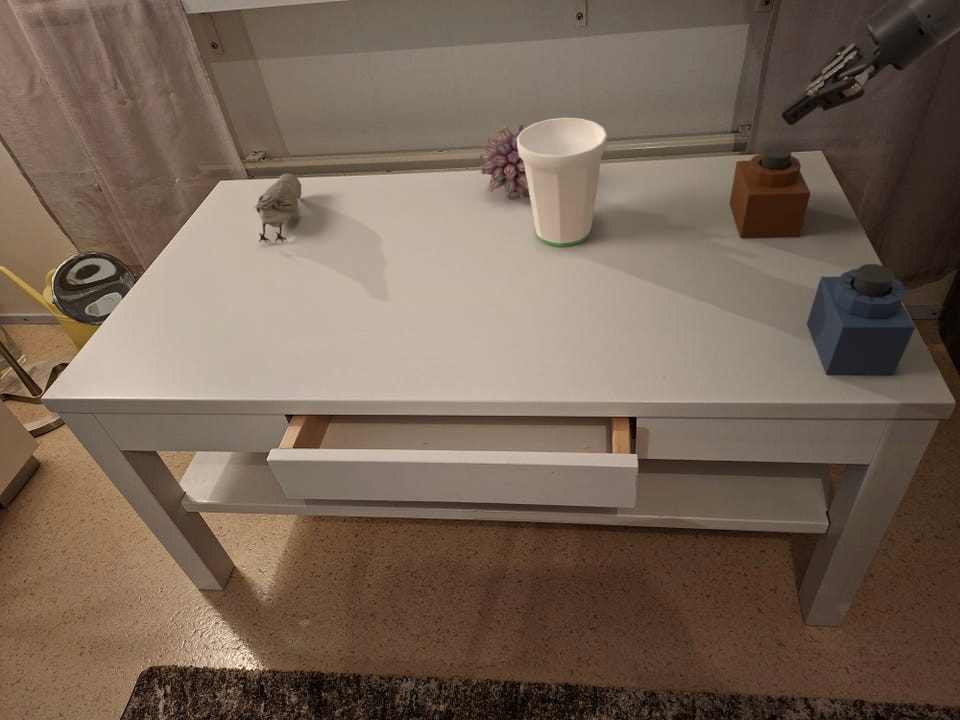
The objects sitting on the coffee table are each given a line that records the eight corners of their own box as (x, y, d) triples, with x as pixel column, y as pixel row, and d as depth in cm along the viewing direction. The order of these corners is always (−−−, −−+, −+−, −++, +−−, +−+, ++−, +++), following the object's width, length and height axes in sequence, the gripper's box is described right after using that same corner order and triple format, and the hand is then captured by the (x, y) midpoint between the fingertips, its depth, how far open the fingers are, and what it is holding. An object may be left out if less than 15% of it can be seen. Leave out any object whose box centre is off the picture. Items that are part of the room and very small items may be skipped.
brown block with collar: (799, 237, 93) (814, 179, 87) (740, 238, 94) (751, 181, 88) (784, 201, 100) (797, 145, 94) (729, 203, 102) (738, 148, 96)
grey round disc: (790, 171, 90) (794, 157, 89) (763, 172, 91) (766, 158, 89) (785, 159, 93) (788, 145, 91) (758, 160, 93) (761, 146, 92)
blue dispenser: (806, 323, 80) (825, 262, 74) (868, 323, 79) (892, 261, 73) (825, 374, 73) (848, 312, 67) (893, 375, 72) (922, 311, 66)
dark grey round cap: (848, 279, 72) (853, 264, 70) (882, 279, 71) (888, 263, 70) (857, 298, 69) (863, 282, 68) (892, 298, 69) (899, 282, 67)
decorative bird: (313, 197, 117) (301, 158, 112) (288, 247, 106) (274, 206, 101) (285, 198, 118) (271, 160, 113) (257, 248, 106) (240, 208, 101)
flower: (537, 181, 116) (565, 197, 106) (473, 195, 114) (496, 213, 104) (531, 113, 110) (560, 123, 100) (464, 127, 108) (487, 139, 98)
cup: (546, 204, 107) (543, 112, 97) (617, 220, 101) (622, 124, 91) (507, 243, 100) (499, 148, 89) (582, 262, 94) (582, 163, 84)
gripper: (895, -24, 79) (767, 79, 91) (913, 9, 70) (768, 119, 82) (930, 22, 81) (800, 118, 93) (952, 60, 72) (804, 160, 84)
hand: (785, 118), depth 87 cm, fingers closed
